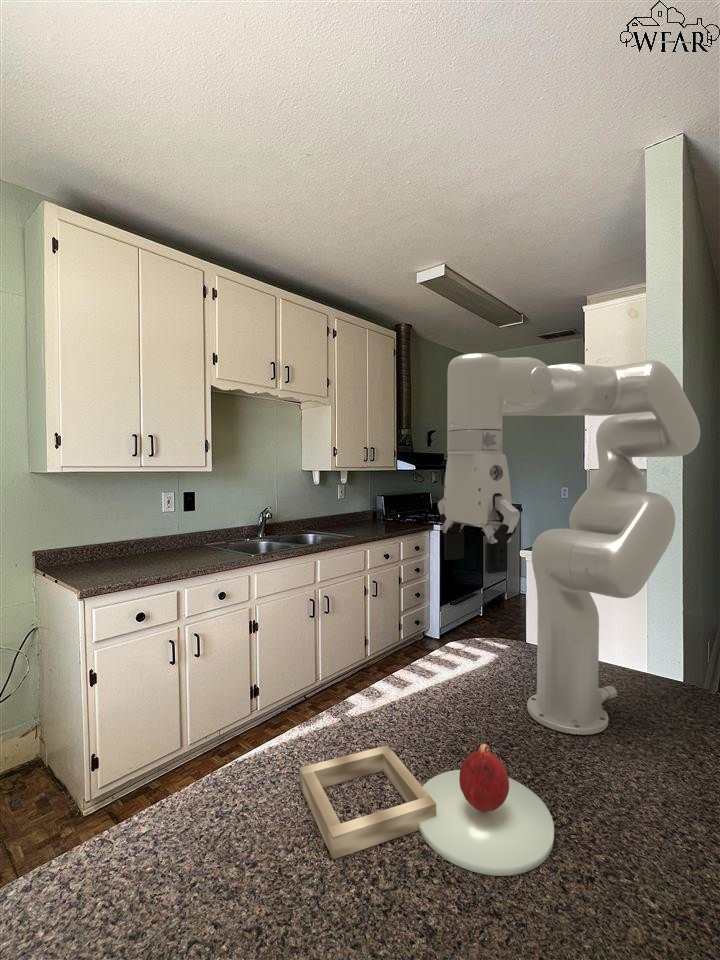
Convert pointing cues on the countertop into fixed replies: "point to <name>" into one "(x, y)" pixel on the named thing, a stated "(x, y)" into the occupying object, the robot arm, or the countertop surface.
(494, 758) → the onion
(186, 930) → the countertop surface
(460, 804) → the plate
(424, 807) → the frame
